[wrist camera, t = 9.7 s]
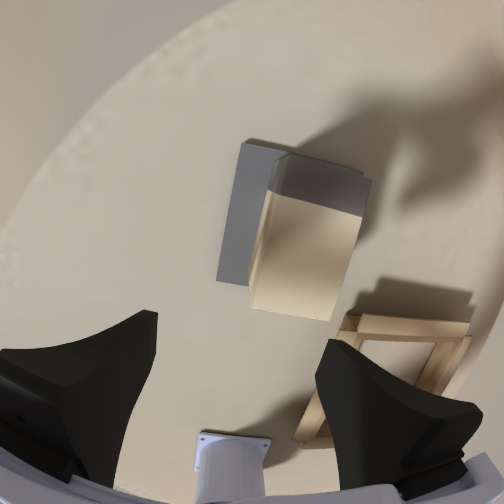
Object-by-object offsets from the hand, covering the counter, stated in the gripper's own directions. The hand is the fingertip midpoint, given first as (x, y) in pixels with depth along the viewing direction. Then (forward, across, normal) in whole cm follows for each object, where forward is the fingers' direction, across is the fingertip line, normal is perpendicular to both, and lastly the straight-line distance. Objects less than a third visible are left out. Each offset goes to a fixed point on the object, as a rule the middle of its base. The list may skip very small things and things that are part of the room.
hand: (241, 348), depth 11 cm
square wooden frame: (+10, -16, +9) cm, 21 cm away
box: (+10, -3, -4) cm, 11 cm away
